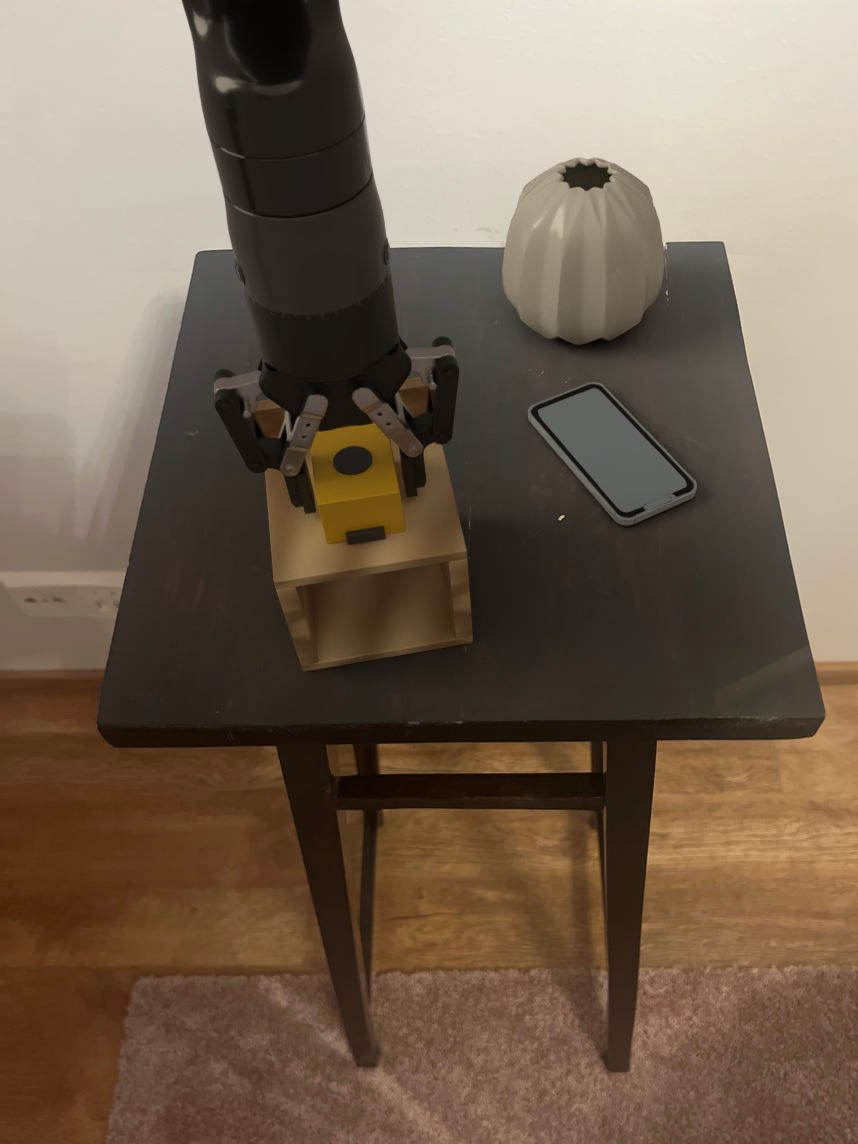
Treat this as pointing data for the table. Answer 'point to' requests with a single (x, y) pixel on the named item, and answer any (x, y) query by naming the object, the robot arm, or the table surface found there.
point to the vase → (583, 252)
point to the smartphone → (612, 453)
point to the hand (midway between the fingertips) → (359, 495)
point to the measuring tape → (356, 484)
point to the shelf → (371, 566)
